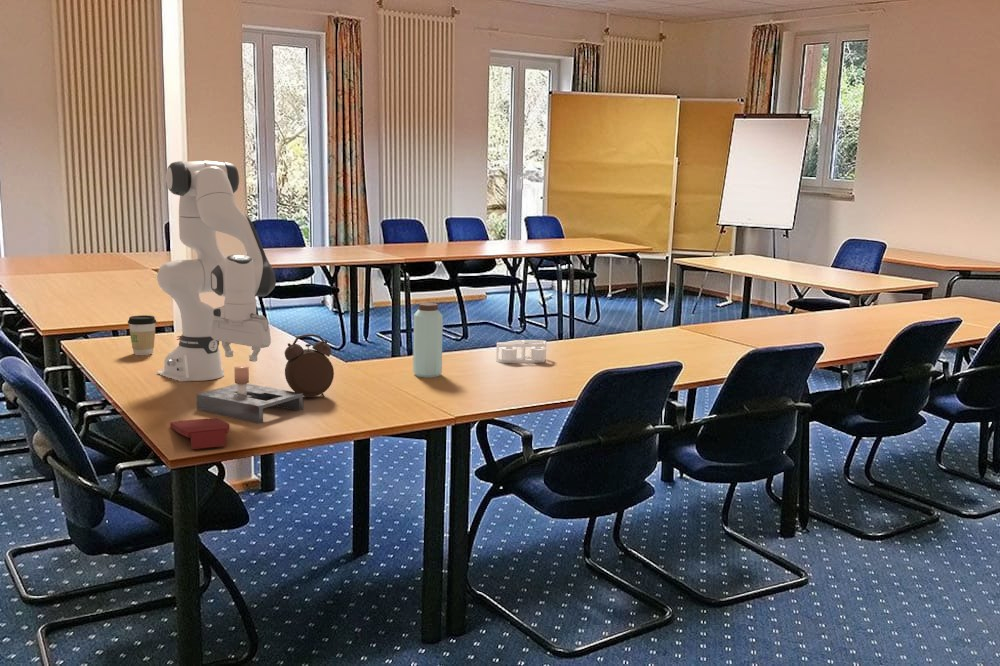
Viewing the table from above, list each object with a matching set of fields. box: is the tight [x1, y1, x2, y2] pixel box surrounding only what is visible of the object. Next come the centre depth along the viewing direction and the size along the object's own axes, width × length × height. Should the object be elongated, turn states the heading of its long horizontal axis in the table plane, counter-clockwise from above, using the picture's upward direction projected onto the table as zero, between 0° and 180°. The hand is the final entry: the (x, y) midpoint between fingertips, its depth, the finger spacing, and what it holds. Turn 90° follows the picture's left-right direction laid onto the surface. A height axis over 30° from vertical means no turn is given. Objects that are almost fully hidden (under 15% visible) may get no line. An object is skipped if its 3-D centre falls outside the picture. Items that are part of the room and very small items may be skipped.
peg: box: [233, 365, 250, 395], centre depth 270 cm, size 5×5×12 cm
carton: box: [169, 417, 230, 450], centre depth 243 cm, size 12×5×25 cm
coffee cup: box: [127, 314, 157, 356], centre depth 337 cm, size 10×10×15 cm
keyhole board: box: [196, 383, 304, 425], centre depth 269 cm, size 18×24×5 cm
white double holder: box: [495, 339, 547, 364], centre depth 349 cm, size 20×11×7 cm, turn 101°
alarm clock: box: [284, 333, 335, 398], centre depth 284 cm, size 14×7×20 cm, turn 115°
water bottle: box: [412, 302, 444, 379], centre depth 319 cm, size 10×10×25 cm
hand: (241, 359), depth 269 cm, fingers open, 8 cm apart
